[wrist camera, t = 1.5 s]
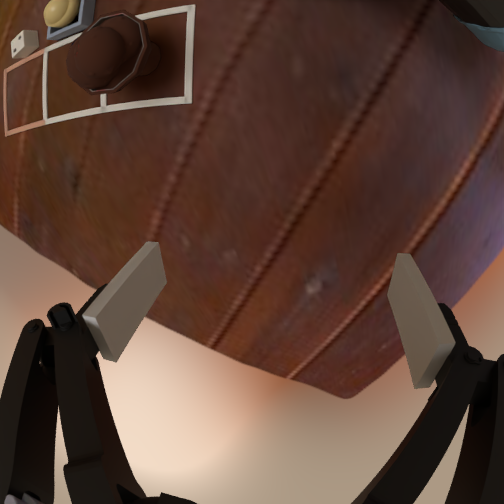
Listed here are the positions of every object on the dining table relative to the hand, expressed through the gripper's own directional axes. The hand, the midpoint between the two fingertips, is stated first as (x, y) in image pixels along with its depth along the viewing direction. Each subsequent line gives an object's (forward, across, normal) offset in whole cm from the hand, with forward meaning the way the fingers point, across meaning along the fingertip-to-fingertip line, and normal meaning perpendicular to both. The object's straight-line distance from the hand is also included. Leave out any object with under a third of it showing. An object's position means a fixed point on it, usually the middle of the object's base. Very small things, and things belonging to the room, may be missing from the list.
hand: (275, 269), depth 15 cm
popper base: (+25, -33, +30) cm, 51 cm away
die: (+25, -45, +28) cm, 59 cm away
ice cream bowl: (+25, -20, +17) cm, 36 cm away
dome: (+23, -33, +30) cm, 50 cm away
